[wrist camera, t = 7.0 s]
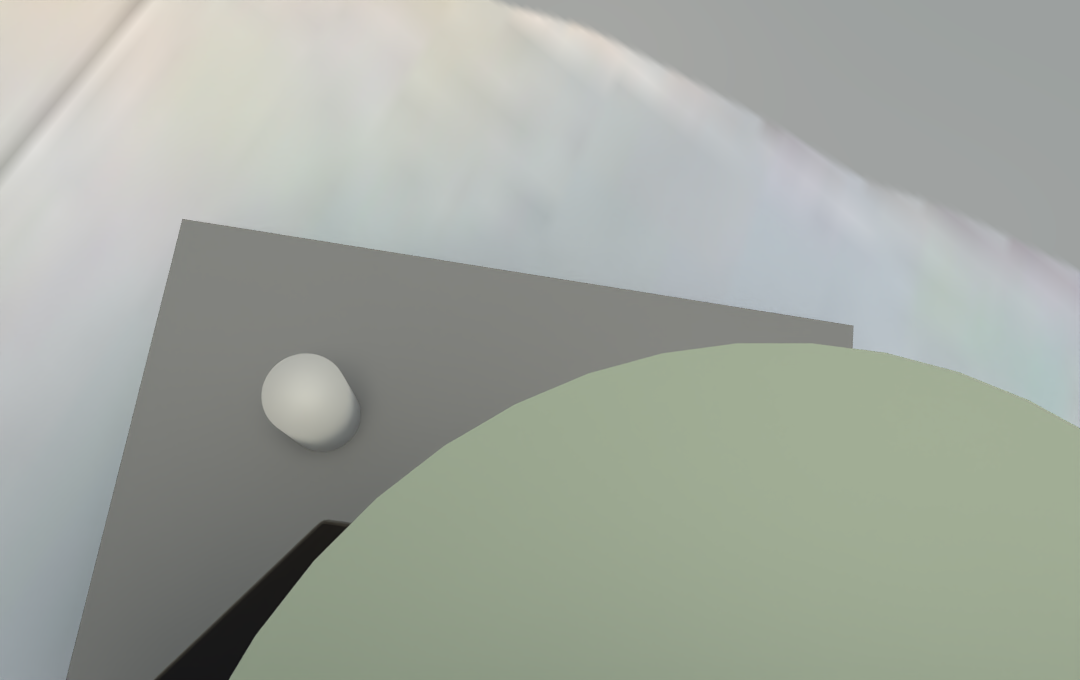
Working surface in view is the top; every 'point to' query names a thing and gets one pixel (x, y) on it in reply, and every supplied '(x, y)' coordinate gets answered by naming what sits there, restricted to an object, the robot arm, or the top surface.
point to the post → (713, 534)
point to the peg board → (380, 344)
